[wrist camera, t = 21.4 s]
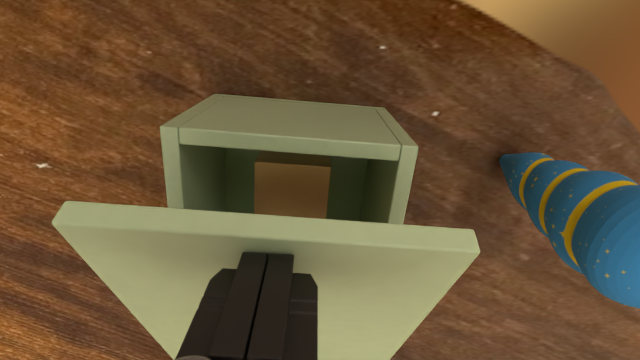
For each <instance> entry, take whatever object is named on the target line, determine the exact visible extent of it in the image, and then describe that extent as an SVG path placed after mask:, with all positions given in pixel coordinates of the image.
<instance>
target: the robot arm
mask: <svg viewBox="0 0 640 360" xmlns="http://www.w3.org/2000/svg"><path fill="white" fill-rule="evenodd" d="M293 267H294V255H284V254H269V258H268V253H254V252H243V253H242V255H241V258H240V261H239V264H238V267H237V269H228V268H222V269H221V270H220V271H219V272H218V273H217V274H216V275H214V276H213V277H212V278H211V279H210V281H209V283H208V285H207V288H206V290H205V292H204V296H203V297H202V299H201V301H200V304H199V307H198V309H197V311H196V313H195V315H194V317H193V320H192V322H191V324H190V327H189V329H188V331H187V333H186V336H185V338H184V340H183V343H182V345H181V347H180V349H179V352H178V354H177V356H176V358H175V360H318V286H317V284H316V282H315V281H314V279H313V277H312V275H311V274H305V273H293Z"/></svg>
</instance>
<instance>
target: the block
mask: <svg viewBox="0 0 640 360" xmlns="http://www.w3.org/2000/svg"><path fill="white" fill-rule="evenodd" d="M330 175H331V160H330V156H326V155H313V154H300V153H287V152H274V151H261V150H260V152H259V154H258V156H257V158H256V160H255V162H254V214H263V215H277V216H291V217H305V218H319V219H326V215H327V205H328V195H329V185H330Z"/></svg>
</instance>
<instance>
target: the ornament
mask: <svg viewBox="0 0 640 360" xmlns="http://www.w3.org/2000/svg"><path fill="white" fill-rule="evenodd" d="M499 163H500V165H501V168H502V170H503V173H504V176H505V178H506V181H507V184H508V186H509V188H510V191H511V193H512V194H513V196H514V197H515V199H516V200H517V202H518V203H519V204H520V205H521V206H522V207H524V208H525V209H526V210H527V211H528V213H529V216H530V218H531V220H532V221H533V223H534V224H535V226H536V227H537V229H538V230H539V231H540V232H542V233H543V234H544V235H545V236H546V237H548V238H549V240H550V242H551V244H552V246H553V248H554V250H555V251H556V253H557V254H558V255H559V257H560V258H561V259H562V260H563V261H564V262H565V263H566V264H567V265H569V266H570V267H572V268H573V269H574V270H576V271H578V272H579V273H582V274H584V275H585V277H586V278H587V280H588V281H589V282H590V284H591V285H592V286H593V287H594V288H596V289H597V290H598V291H599V292H600V293H601V294H603V295H604V296H606V297H608V298H610V299H612V300H614V301H616V302H619V303H621V304H624V305H628V306H631V307H636V308H640V185H638V184H637V183H636V182H634V181H633V180H632V179H630V178H629V177H626V176H624V175H621V174H619V173H615V172H609V171H589V170H588V169H587V168H586V167H584V166H582V165H580V164H577V163H575V162H570V161H563V160H554V159H553V158H551V157H550V156H548V155H546V154H543V153H536V152H529V153H518V154H505V155H502V156H501V157H500V159H499Z"/></svg>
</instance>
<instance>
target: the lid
mask: <svg viewBox="0 0 640 360" xmlns="http://www.w3.org/2000/svg"><path fill="white" fill-rule="evenodd" d="M52 225H53V226H54V227H55V228H56V229H57V230H58V232H59V233H60V234H61V235H62V236H63V237H64V238H65V239H66V240H67V242H68V243H69V244H70V245H71V246H72V247H73V248H74V249H75V251H76V252H77V253H78V254H79V255H80V256H81V257H82V258H83V259H84V261H85V262H86V263H87V264H88V265H89V266H90V267H91V268H92V269H93V271H94V272H95V273H96V274H97V275H98V276H99V277H100V278H101V279H102V281H103V282H104V283H105V284H106V285H107V286H108V287H109V288H110V290H111V291H112V292H113V293H114V294H115V295H116V296H117V297H118V298H119V300H120V301H121V302H122V303H123V304H124V305H125V306H126V307H127V308H128V310H129V311H130V312H131V313H132V314H133V315H134V316H135V317H136V318H137V320H138V321H139V322H140V323H141V324H142V325H143V326H144V327H145V328H146V330H147V331H148V332H149V333H150V334H151V335H152V336H153V337H154V339H155V340H156V341H157V342H158V343H159V344H160V345H161V346H162V347H163V349H164V350H165V351H166V352H167V353H168V354H169V355H170V356H171V357H172V359H173V360H175V358H176V356H177V354H178V352H179V349H180V347H181V345H182V343H183V340H184V338H185V336H186V333H187V331H188V329H189V327H190V324H191V322H192V320H193V317H194V315H195V313H196V311H197V309H198V307H199V304H200V301H201V299H202V297H203V296H204V292H205V290H206V288H207V285H208V283H209V281H210V279H211V278H212V277H213V276H214V275H216V274H217V273H218V272H219V271H220V270H221V269H222V268H228V269H237V267H238V264H239V261H240V258H241V255H242V253H243V252H254V253H268V258H269V254H284V255H294V267H293V273H305V274H311V275H312V277H313V279H314V281H315V282H316V284H317V286H318V360H390V359H391V357H392V356H393V355H394V354H395V353H396V352H397V350H398V349H399V348H400V347H401V346H402V345H403V343H404V342H405V341H406V340H407V339H408V337H409V336H410V335H411V334H412V333H413V332H414V330H415V329H416V328H417V327H418V326H419V324H420V323H421V322H422V321H423V320H424V319H425V317H426V316H427V315H428V314H429V313H430V311H431V310H432V309H433V308H434V307H435V306H436V304H437V303H438V302H439V301H440V300H441V298H442V297H443V296H444V295H445V294H446V293H447V291H448V290H449V289H450V288H451V287H452V285H453V284H454V283H455V282H456V281H457V280H458V278H459V277H460V276H461V275H462V274H463V272H464V271H465V270H466V269H467V268H468V267H469V265H470V264H471V263H472V262H473V261H474V259H475V258H476V257H477V256H478V255H479V254H480V249H479V245H478V242H477V239H476V235H475V232H474V230H472V229H461V228H447V227H433V226H419V225H404V224H390V223H376V222H362V221H348V220H333V219H319V218H305V217H291V216H277V215H263V214H248V213H234V212H220V211H206V210H192V209H177V208H163V207H149V206H135V205H121V204H107V203H92V202H78V201H65V202H64V203H63V205H62V206H61V208H60V209H59V211H58V213H57V214H56V216H55V217H54V219H53V220H52Z"/></svg>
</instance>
